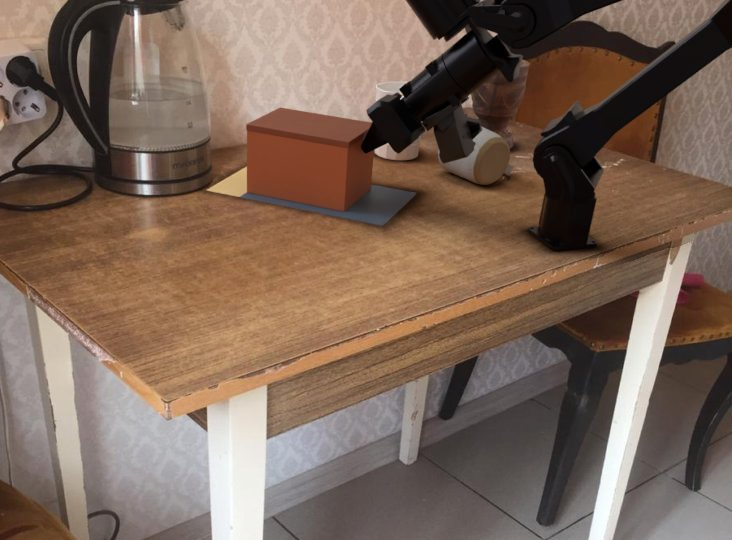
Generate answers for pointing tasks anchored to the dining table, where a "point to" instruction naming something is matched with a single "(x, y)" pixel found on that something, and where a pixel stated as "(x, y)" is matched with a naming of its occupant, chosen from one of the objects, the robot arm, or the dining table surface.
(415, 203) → the dining table surface
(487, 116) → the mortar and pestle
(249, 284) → the dining table surface
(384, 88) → the white cup
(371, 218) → the mat
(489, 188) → the dining table surface
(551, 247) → the robot arm
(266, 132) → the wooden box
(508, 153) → the ceramic mug
